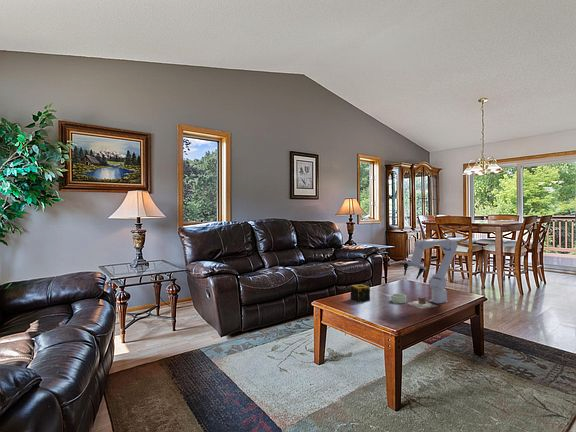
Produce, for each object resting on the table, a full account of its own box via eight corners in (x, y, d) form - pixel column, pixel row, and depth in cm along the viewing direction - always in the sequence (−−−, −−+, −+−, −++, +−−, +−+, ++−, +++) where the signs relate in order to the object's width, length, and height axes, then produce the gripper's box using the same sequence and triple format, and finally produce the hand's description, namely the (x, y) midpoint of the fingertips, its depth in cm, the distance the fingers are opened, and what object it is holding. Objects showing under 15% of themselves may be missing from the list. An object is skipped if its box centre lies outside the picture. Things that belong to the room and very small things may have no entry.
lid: (422, 301, 220) (422, 294, 220) (436, 305, 209) (436, 298, 208) (408, 303, 216) (408, 296, 216) (421, 308, 204) (421, 300, 204)
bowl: (399, 299, 226) (399, 293, 226) (409, 303, 218) (409, 296, 218) (388, 301, 223) (388, 294, 223) (397, 304, 214) (397, 297, 214)
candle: (350, 299, 230) (349, 285, 230) (362, 297, 234) (362, 283, 234) (358, 302, 221) (357, 288, 221) (370, 301, 224) (370, 286, 224)
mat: (422, 301, 221) (422, 300, 221) (438, 306, 208) (438, 306, 208) (406, 303, 216) (406, 302, 216) (421, 309, 203) (421, 308, 203)
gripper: (405, 252, 211) (398, 272, 209) (428, 260, 205) (422, 280, 203) (405, 255, 218) (399, 273, 215) (428, 262, 211) (422, 281, 209)
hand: (410, 277), depth 210 cm, fingers open, 7 cm apart
